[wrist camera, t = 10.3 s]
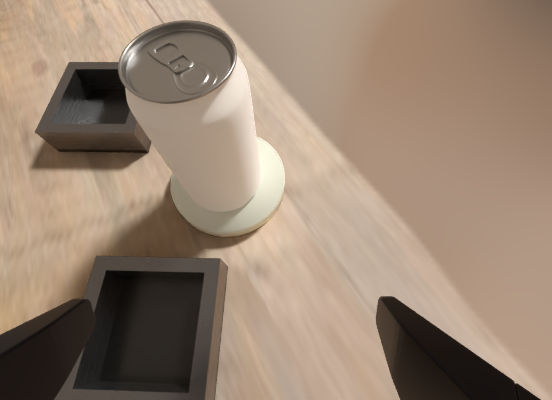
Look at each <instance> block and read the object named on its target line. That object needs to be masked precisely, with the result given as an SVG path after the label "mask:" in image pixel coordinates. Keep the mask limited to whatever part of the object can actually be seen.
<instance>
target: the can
mask: <svg viewBox="0 0 552 400" xmlns="http://www.w3.org/2000/svg"><path fill="white" fill-rule="evenodd" d="M118 73H119V77H120V79H121V81H122V83H123V85H124V86H125V90H126V98H127V103H128V106H129V108H130V110H131V112H132V114H133V115H134V117H135V118H136V120H137V121H138V123H139V124H140V126H141V127H142V129H143V130H144V132H145V133H146V135H147V136H148V138H149V139H150V141H151V142H152V143H153V145H154V146H155V148H156V149H157V151H158V152H159V154H160V155H161V156H162V158H163V159H164V161H165V162H166V164H167V165H168V166H169V168H170V169H171V171H172V172H173V174H174V175H175V176H176V178H177V179H178V181H179V182H180V184H181V185H182V186H183V188H184V189H185V191H186V192H187V193H188V195H189V196H190V197H191V199H192V200H193V201H194V202H195V203H196V204H197V205H199V206H200V207H202V208H204V209H206V210H209V211H214V212H226V211H231V210H235V209H238V208H240V207H242V206H243V205H245V204H246V203H247V202H248V201H249V200H250V199H251V198H252V197H253V196H254V195H255V193H256V192H257V190H258V188H259V185H260V181H261V170H260V161H259V153H258V145H257V137H256V129H255V122H254V114H253V106H252V99H251V92H250V85H249V79H248V75H247V71H246V69H245V67H244V65H243V63H242V61H241V60H240V58H239V57H238V56H237V52H236V47H235V44H234V42H233V41H232V39H231V38H230V36H229V35H228V34H227V33H225V32H224V31H223V30H221V29H220V28H218V27H216V26H214V25H211V24H208V23H205V22H200V21H188V20H186V21H174V22H169V23H164V24H161V25H158V26H155V27H153V28H151V29H148V30H146V31H145V32H143V33H141V34H140V35H138V36H137V37H136V38H134V39H133V40H132V41H131V42H130V43H129V44H128V45H127V47H126V48H125V49H124V51H123V52H122V54H121V57H120V60H119V64H118Z"/></svg>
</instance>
